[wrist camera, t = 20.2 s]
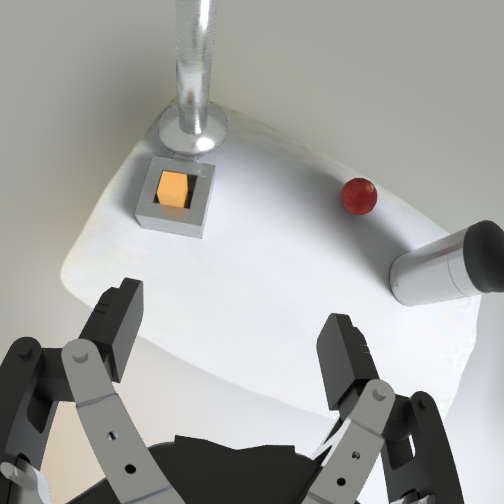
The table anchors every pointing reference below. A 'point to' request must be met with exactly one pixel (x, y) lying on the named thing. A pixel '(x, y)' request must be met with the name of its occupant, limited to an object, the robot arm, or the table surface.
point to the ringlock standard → (187, 126)
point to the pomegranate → (359, 196)
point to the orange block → (173, 190)
